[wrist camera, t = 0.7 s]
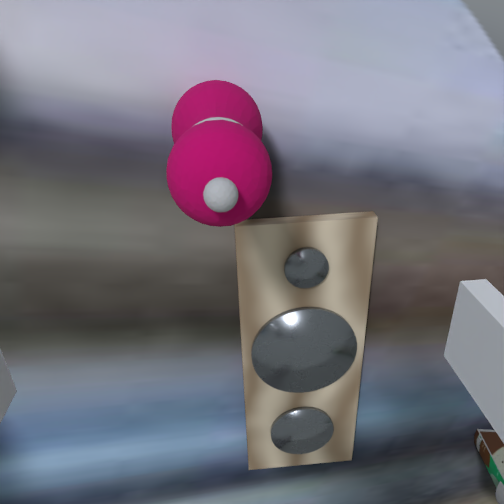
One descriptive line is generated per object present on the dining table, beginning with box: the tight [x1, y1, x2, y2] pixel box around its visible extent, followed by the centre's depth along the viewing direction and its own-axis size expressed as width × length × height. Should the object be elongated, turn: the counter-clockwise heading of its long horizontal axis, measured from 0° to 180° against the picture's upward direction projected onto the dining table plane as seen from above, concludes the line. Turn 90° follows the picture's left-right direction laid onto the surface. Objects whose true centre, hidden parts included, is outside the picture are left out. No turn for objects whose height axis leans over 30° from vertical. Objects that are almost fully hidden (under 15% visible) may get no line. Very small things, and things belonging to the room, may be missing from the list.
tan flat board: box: [234, 211, 378, 470], centre depth 53 cm, size 14×36×2 cm, turn 2°
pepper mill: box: [167, 80, 272, 227], centre depth 31 cm, size 7×7×20 cm
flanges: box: [251, 247, 357, 393], centre depth 49 cm, size 12×19×1 cm, turn 2°
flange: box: [271, 406, 334, 454], centre depth 57 cm, size 8×8×1 cm
